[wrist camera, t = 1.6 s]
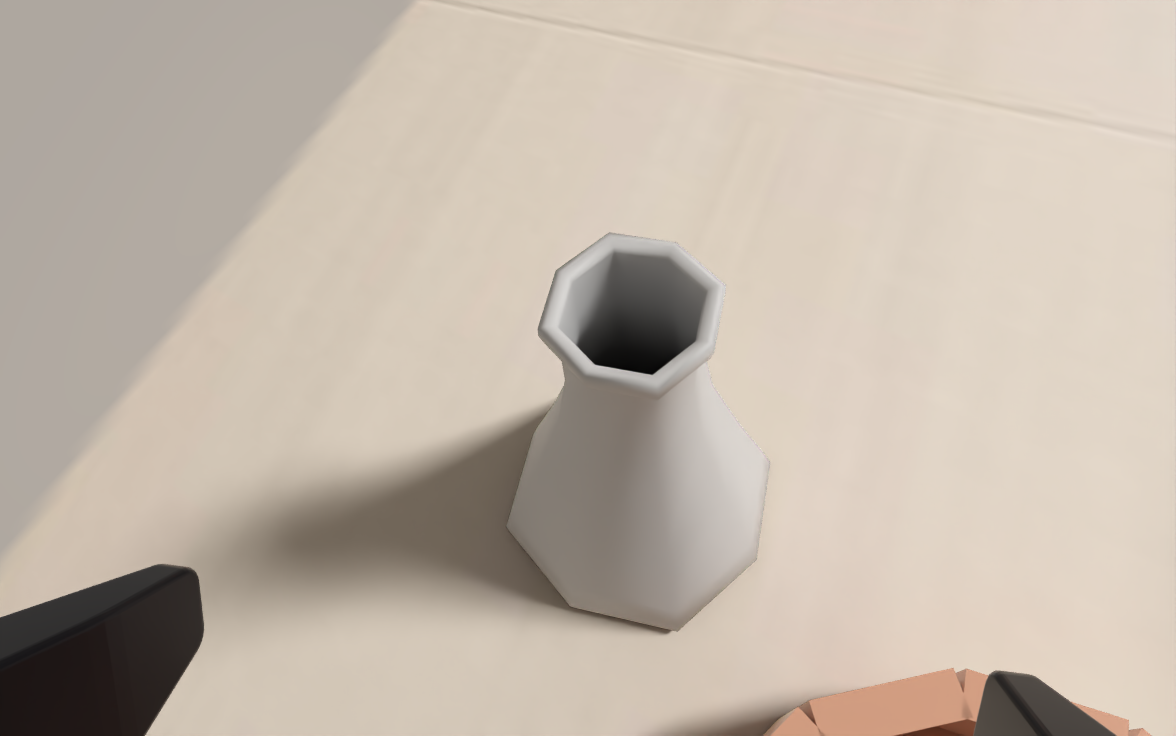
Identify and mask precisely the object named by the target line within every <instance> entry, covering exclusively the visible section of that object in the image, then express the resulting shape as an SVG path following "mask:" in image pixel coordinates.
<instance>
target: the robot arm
mask: <svg viewBox="0 0 1176 736" xmlns="http://www.w3.org/2000/svg"><path fill="white" fill-rule="evenodd" d="M203 633H204V621H203V612H202V603H201V594H200V585H199V579H198V576H197V574H196V572H195V571H194V570H193V569H191V568H189V567H183V566H175V565H168V564H158V565H154V566H151V567H148V568H145V569H142V570H139V571H136V572H133V573H130V574H127V575H125V576H122V577H119V578H116V579H113V580H110V581H107V582H104V583H101V584H98V585H95V586H92V587H89V588H86V589H83V590H80V591H77V592H74V593H71V594H68V595H65V596H62V597H60V598H57V599H54V600H51V601H48V602H45V603H42V604H39V605H36V606H33V607H30V608H27V609H24V610H21V611H18V612H15V613H12V614H9V615H6V616H3V617H0V736H145V735H146V733H147V732H148V730H149V728H150V727H151V725H152V723H153V722H154V720H155V719H156V717H157V715H158V714H159V712H160V711H161V709H162V707H163V706H164V704H165V702H166V701H167V699H168V698H169V696H170V694H171V693H172V691H173V689H174V688H175V686H176V685H177V683H178V681H179V680H180V678H181V677H182V675H183V673H184V672H185V670H186V668H187V667H188V665H189V664H190V662H191V660H192V659H193V657H194V655H195V654H196V652H197V651H198V649H199V647H200V644H201V642H202V638H203ZM973 736H1117V735H1116V734H1114V733H1113V732H1111V731H1110V730H1109V729H1107V728H1106V727H1105V726H1103V725H1102V724H1100V723H1099V722H1098V721H1096V720H1095V719H1093V718H1092V717H1091V716H1089V715H1088V714H1087V713H1085V712H1084V711H1082V710H1081V709H1080V708H1078V707H1077V706H1076V705H1074V704H1073V703H1071V702H1070V701H1069V700H1067V699H1066V698H1065V697H1063V696H1062V695H1060V694H1059V693H1058V692H1056V691H1055V690H1053V689H1052V688H1051V687H1049V686H1048V685H1047V684H1045V683H1044V682H1042V681H1041V680H1040V679H1038V678H1037V677H1035V676H1033V675H1029V674H1022V673H1014V672H1006V671H994V672H992V673H990V674H989V676H988V678H987V680H986V682H985V686H984V690H983V694H982V699H981V703H980V707H979V712H978V716H977V720H976V725H975V729H974V734H973Z"/></svg>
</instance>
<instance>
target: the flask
mask: <svg viewBox="0 0 1176 736" xmlns="http://www.w3.org/2000/svg"><path fill="white" fill-rule="evenodd" d="M725 291H726V285H725V284H724V283H723V282H722V281H721V280H719V279H718V278H717V277H716V276H715V275H714V274H713V273H711V272H710V271H709V270H708V269H707V268H706V267H704V266H703V265H702V264H701V263H700V262H699V261H698V260H696V259H695V258H694V257H693V256H692V255H691V254H689V253H688V252H687V251H686V250H685V249H684V248H683V247H681V246H680V245H679V244H678V243H677V242H670V241H663V240H656V239H650V238H643V237H636V236H629V235H623V234H616V233H608V234H606V235H605V236H604V237H602V238H601V239H599V240H598V241H597V242H595V243H594V244H592V245H591V246H589V247H588V248H587V249H585V250H584V251H582V252H581V253H580V254H578V255H577V256H575V257H574V258H573V259H571V260H570V261H568V262H567V263H566V264H564V265H563V266H561V267H560V268H559V269H557V270H556V272H555V275H554V278H553V281H552V285H551V288H550V291H549V294H548V297H547V301H546V304H545V307H544V310H543V313H542V317H541V320H540V323H539V326H538V336H539V337H540V338H541V340H542V341H543V342H544V343H545V344H546V345H547V346H548V347H549V349H550V350H551V351H552V352H553V353H554V354H555V355H556V356H557V357H558V358H559V359H560V360H561V361H562V365H563V371H564V377H565V383H564V386H563V388H562V390H561V392H560V394H559V395H558V397H557V399H556V401H555V403H554V404H553V406H552V407H551V409H550V410H549V411H548V413H547V414H546V416H545V417H544V418H543V420H542V421H541V423H540V424H539V425H538V427H537V429H536V430H535V432H534V434H533V437H532V440H531V444H530V447H529V450H528V454H527V457H526V461H525V464H524V467H523V471H522V474H521V478H520V481H519V485H518V488H517V491H516V495H515V498H514V502H513V505H512V508H511V512H510V515H509V519H508V522H507V525H506V527H507V529H508V530H509V531H510V532H511V534H512V535H513V536H514V537H515V539H516V540H517V541H518V542H519V544H520V545H521V546H522V547H523V549H524V550H525V551H526V552H527V554H528V555H529V556H530V557H531V558H532V560H533V561H534V562H535V563H536V565H537V566H538V567H539V568H540V570H541V571H542V572H543V573H544V575H545V576H546V577H547V578H548V580H549V581H550V582H551V583H552V585H553V586H554V587H555V588H556V589H557V591H558V592H559V593H560V594H561V596H562V597H563V598H564V599H565V601H566V602H567V603H568V604H569V606H570V607H574V608H578V609H583V610H587V611H591V612H595V613H600V614H604V615H608V616H613V617H617V618H621V619H626V620H630V621H634V622H639V623H643V624H647V625H651V626H656V627H660V628H664V629H669V630H673V631H679V630H680V629H681V628H682V627H683V626H684V625H685V624H686V623H687V622H688V621H690V620H691V619H692V618H693V617H694V616H695V615H696V614H697V613H698V612H699V611H701V610H702V609H703V608H704V607H705V606H706V605H707V604H708V603H709V602H710V601H712V600H713V599H714V598H715V597H716V596H717V595H718V594H719V593H720V592H721V591H723V590H724V589H725V588H726V587H727V586H728V585H729V584H730V583H731V582H732V581H734V580H735V579H736V578H737V577H738V576H739V575H740V574H741V573H742V572H743V571H745V570H746V569H747V568H748V567H749V566H750V565H751V564H752V563H753V562H754V561H756V559H757V552H758V545H759V538H760V531H761V524H762V517H763V510H764V503H765V496H766V489H767V481H768V474H769V467H770V461H769V459H768V458H767V456H766V455H765V454H764V452H763V451H762V450H761V449H760V447H759V446H758V445H757V444H756V443H755V441H754V440H753V439H752V438H751V437H750V435H749V434H748V433H747V432H746V431H745V429H744V428H743V427H742V426H741V425H740V423H739V422H738V420H737V419H736V417H735V416H734V414H733V413H732V412H731V410H730V409H729V407H728V406H727V404H726V403H725V401H724V400H723V398H722V397H721V396H720V394H719V393H718V391H717V390H716V388H715V387H714V385H713V383H712V379H711V375H710V371H709V367H708V364H707V361H708V360H709V359H710V358H711V356H712V355H713V354H714V350H715V345H716V339H717V334H718V329H719V324H720V318H721V313H722V308H723V302H724V297H725Z"/></svg>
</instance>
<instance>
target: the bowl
mask: <svg viewBox="0 0 1176 736" xmlns="http://www.w3.org/2000/svg"><path fill="white" fill-rule="evenodd" d="M987 678H988V675H985V674H981V673H978V672H975V671H972V670H969V669H965V670H962V671H960V672H957V673H955V671H954V668H951V669H947V670H942V671H938V672H933V673H929V674H924V675H920V676H915V677H911V678H907V679H902V680H898V681H893V682H889V683H884V684H880V685H875V686H871V687H867V688H862V689H858V690H853V691H849V692H844V693H840V694H835V695H831V696H827V697H822V698H818V699H813V700H809V701H807V702H806V703H804V704H802V705H801V706H799V707H797V708H795V709H794V710H792V711H790V712H789V713H787V714H786V715H784V716H782V717H781V718H779V719H778V720H777V721H776V722H775V723H774V724H773V725H772V726H771V727H770V728H769V729H768V730H767V731H766V732H765V733H764V735H763V736H973V734H974V729H975V725H976V720H977V716H978V712H979V707H980V703H981V699H982V694H983V690H984V686H985V682H986V680H987ZM1071 703H1073V702H1071ZM1073 704H1074V705H1076V706H1077V707H1078V708H1080V709H1081V710H1082V711H1084V712H1085V713H1087V714H1088V715H1089V716H1091V717H1092V718H1093V719H1095V720H1096V721H1098V722H1099V723H1100V724H1102V725H1103V726H1105V727H1106V728H1107V729H1109V730H1110V731H1111V732H1113V733H1114V734H1116V735H1117V736H1151V735H1150V734H1149V733H1148V732H1147V731H1145V730H1144V729H1143V728H1141V729H1134V730H1129V720H1127V719H1123V718H1120V717H1117V716H1114V715H1111V714H1108V713H1105V712H1101V711H1098V710H1095V709H1092V708H1089V707H1086V706H1082V705H1079V704H1076V703H1073Z"/></svg>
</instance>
